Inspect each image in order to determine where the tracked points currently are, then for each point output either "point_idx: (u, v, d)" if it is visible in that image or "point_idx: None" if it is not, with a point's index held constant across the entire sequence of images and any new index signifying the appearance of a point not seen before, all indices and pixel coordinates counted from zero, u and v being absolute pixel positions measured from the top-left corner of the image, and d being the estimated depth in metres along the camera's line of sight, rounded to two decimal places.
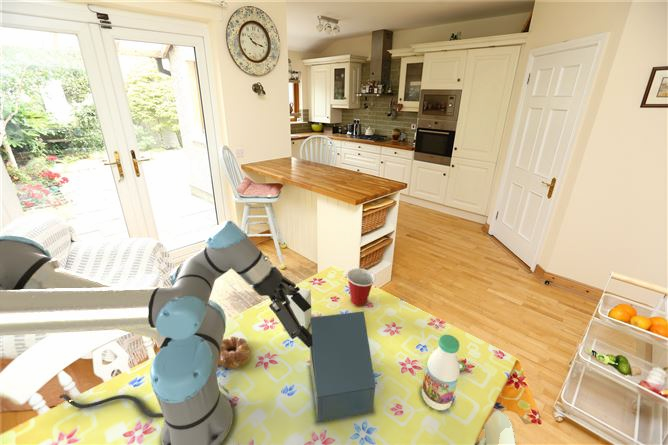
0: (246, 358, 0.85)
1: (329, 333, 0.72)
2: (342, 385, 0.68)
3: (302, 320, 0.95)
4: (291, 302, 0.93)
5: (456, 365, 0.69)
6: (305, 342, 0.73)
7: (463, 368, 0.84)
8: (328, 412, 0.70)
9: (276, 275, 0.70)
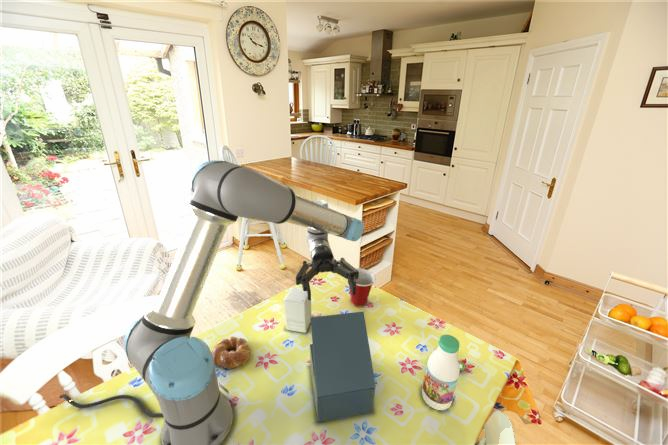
0: (246, 358, 0.85)
1: (329, 333, 0.72)
2: (342, 385, 0.68)
3: (302, 320, 0.95)
4: (291, 302, 0.93)
5: (456, 365, 0.69)
6: None
7: (463, 368, 0.84)
8: (328, 412, 0.70)
9: None
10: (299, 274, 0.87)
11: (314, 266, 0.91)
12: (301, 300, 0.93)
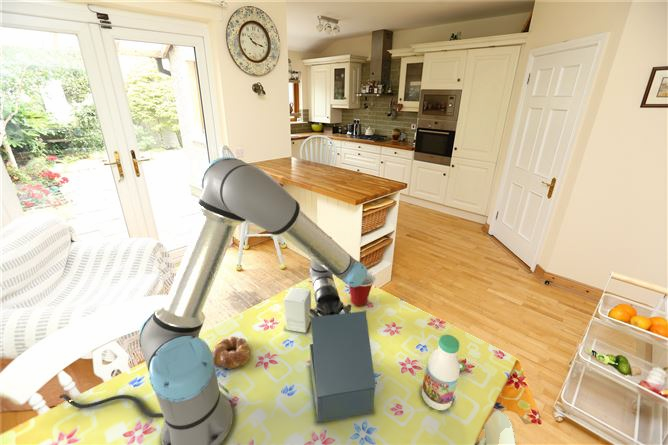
0: (246, 358, 0.85)
1: (330, 334, 0.71)
2: (343, 385, 0.68)
3: (302, 320, 0.95)
4: (291, 302, 0.93)
5: (456, 365, 0.69)
6: None
7: (463, 368, 0.84)
8: (328, 412, 0.70)
9: None
10: None
11: (327, 313, 0.83)
12: (301, 300, 0.93)
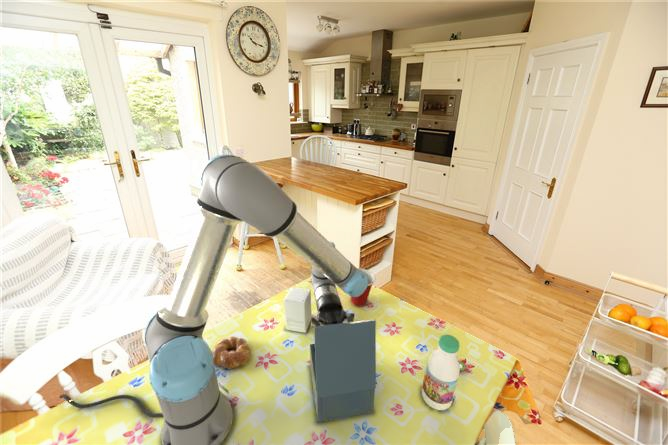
0: (246, 358, 0.85)
1: (334, 343, 0.65)
2: (343, 387, 0.67)
3: (302, 320, 0.95)
4: (291, 302, 0.93)
5: (456, 365, 0.69)
6: None
7: (463, 368, 0.84)
8: (328, 412, 0.70)
9: None
10: None
11: (330, 323, 0.79)
12: (301, 300, 0.93)
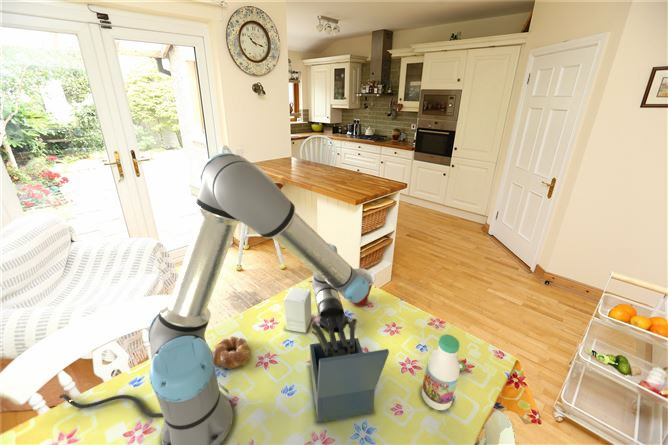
0: (246, 358, 0.85)
1: (340, 369, 0.59)
2: (344, 391, 0.67)
3: (302, 320, 0.95)
4: (291, 302, 0.93)
5: (456, 365, 0.69)
6: None
7: (463, 368, 0.84)
8: (328, 412, 0.70)
9: None
10: (326, 343, 0.73)
11: (331, 328, 0.77)
12: (301, 300, 0.93)
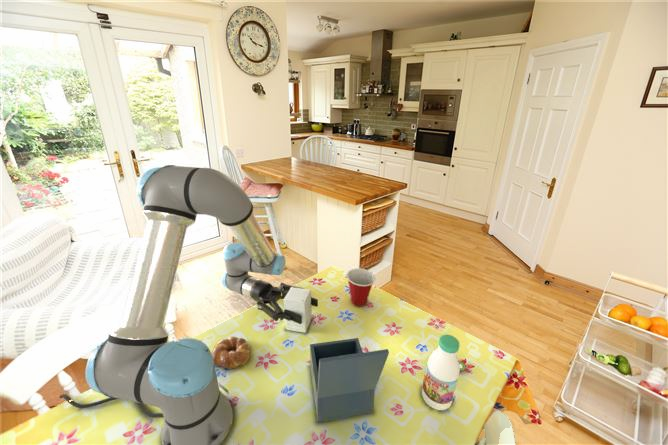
0: (246, 358, 0.85)
1: (340, 369, 0.59)
2: (344, 391, 0.67)
3: (302, 320, 0.95)
4: (291, 302, 0.93)
5: (456, 365, 0.69)
6: None
7: (463, 368, 0.84)
8: (328, 412, 0.70)
9: None
10: (273, 311, 0.94)
11: (273, 299, 0.99)
12: (301, 300, 0.93)
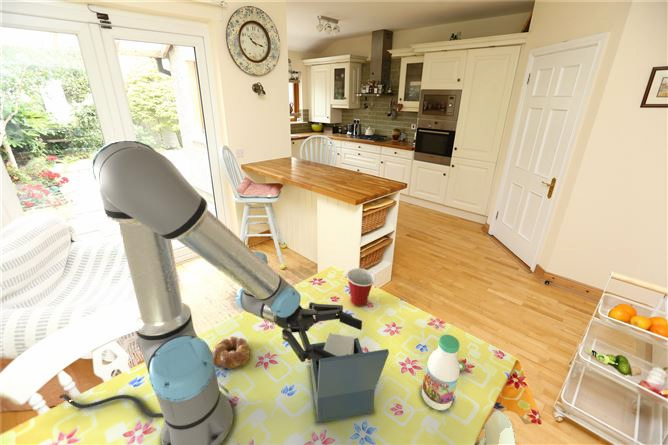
0: (246, 358, 0.85)
1: (340, 369, 0.59)
2: (344, 391, 0.67)
3: None
4: None
5: (456, 365, 0.69)
6: None
7: (463, 368, 0.84)
8: (328, 412, 0.70)
9: None
10: (300, 348, 0.69)
11: (302, 329, 0.75)
12: (345, 354, 0.73)
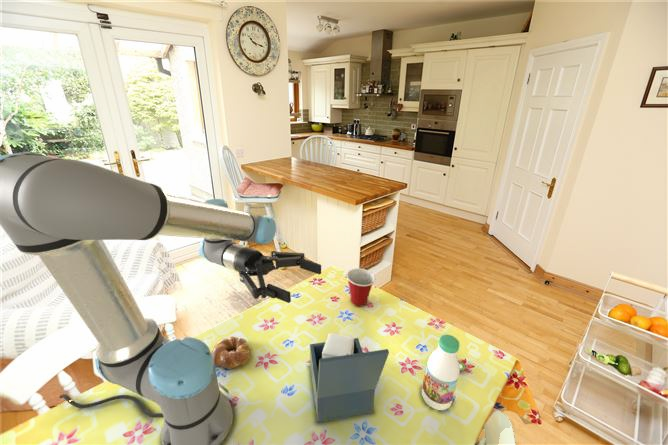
0: (246, 358, 0.85)
1: (340, 369, 0.59)
2: (344, 391, 0.67)
3: None
4: (332, 356, 0.73)
5: (456, 365, 0.69)
6: None
7: (463, 368, 0.84)
8: (328, 412, 0.70)
9: None
10: (253, 285, 0.69)
11: (259, 270, 0.74)
12: (344, 354, 0.73)
